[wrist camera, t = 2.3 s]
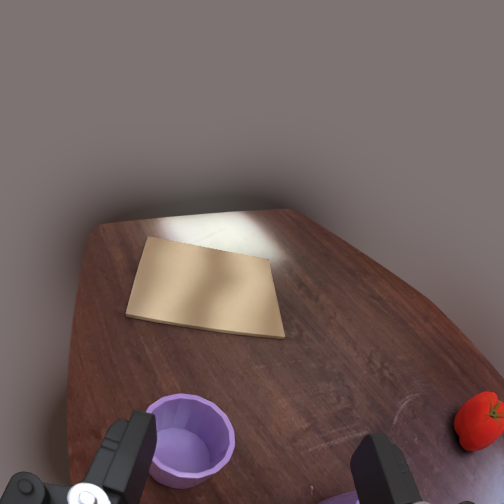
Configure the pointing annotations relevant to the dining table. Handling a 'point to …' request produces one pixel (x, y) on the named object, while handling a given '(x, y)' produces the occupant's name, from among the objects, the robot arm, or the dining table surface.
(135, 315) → the mat
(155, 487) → the dining table surface
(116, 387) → the dining table surface
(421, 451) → the dining table surface
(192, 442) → the lavender cup
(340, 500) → the lilac cup
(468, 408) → the tomato
